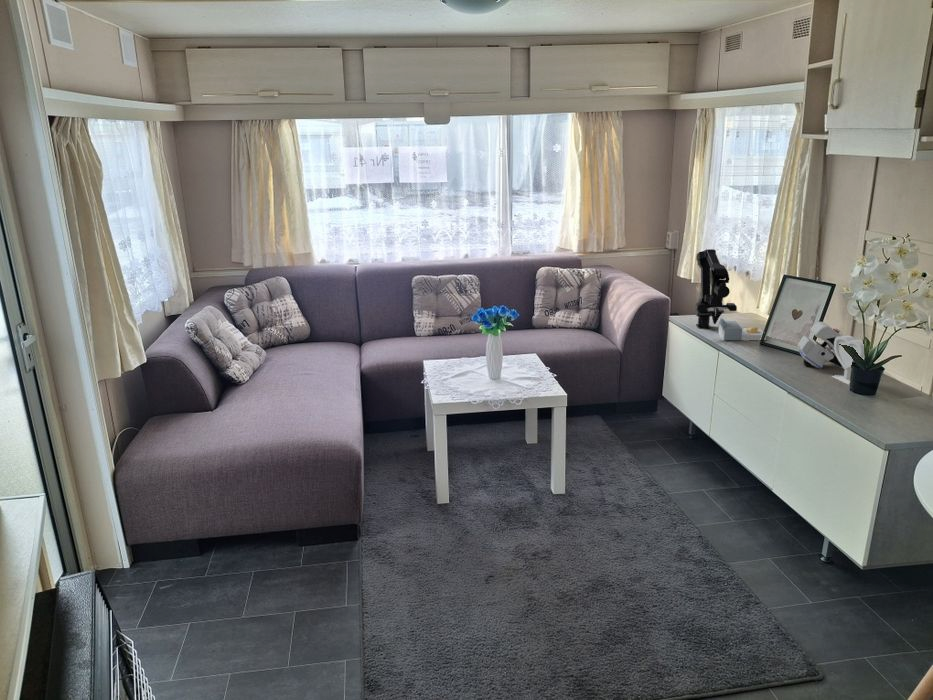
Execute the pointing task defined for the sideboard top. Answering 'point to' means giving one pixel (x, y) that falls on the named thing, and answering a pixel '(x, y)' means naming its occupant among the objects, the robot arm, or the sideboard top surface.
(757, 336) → the housing
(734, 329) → the cabinet
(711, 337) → the sideboard top surface
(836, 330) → the robotic device
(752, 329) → the rounded peg
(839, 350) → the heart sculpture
